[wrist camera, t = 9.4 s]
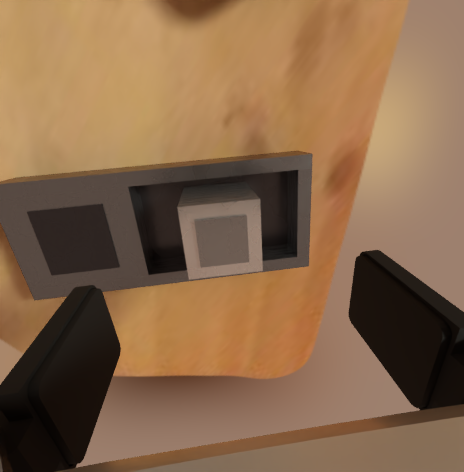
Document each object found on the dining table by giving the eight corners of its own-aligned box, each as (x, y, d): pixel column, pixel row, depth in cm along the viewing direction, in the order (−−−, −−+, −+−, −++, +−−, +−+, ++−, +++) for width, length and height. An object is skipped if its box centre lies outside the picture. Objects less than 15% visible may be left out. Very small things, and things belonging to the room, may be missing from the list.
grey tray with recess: (14, 178, 20) (-17, 185, 17) (298, 150, 21) (312, 153, 18) (54, 280, 23) (33, 301, 20) (296, 251, 25) (309, 266, 22)
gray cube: (183, 187, 21) (176, 208, 15) (245, 181, 22) (260, 199, 16) (192, 243, 23) (188, 281, 17) (248, 237, 23) (263, 272, 18)
